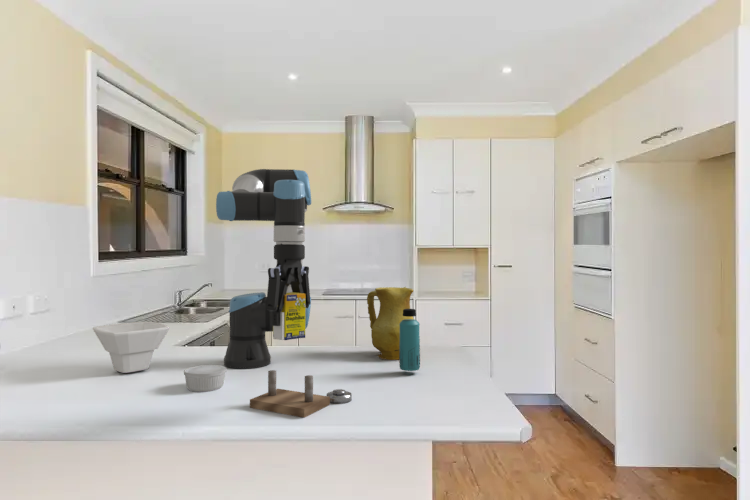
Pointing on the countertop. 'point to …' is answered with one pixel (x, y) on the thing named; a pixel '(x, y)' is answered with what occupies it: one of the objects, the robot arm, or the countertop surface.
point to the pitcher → (388, 319)
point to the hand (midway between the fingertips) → (289, 336)
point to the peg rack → (290, 399)
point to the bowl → (131, 343)
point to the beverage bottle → (409, 342)
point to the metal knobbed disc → (339, 396)
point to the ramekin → (205, 377)
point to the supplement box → (294, 315)
